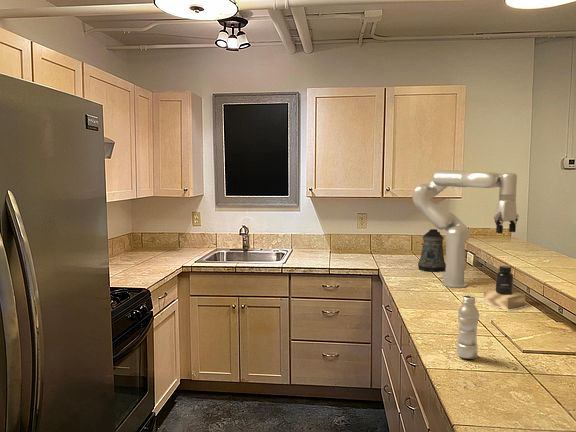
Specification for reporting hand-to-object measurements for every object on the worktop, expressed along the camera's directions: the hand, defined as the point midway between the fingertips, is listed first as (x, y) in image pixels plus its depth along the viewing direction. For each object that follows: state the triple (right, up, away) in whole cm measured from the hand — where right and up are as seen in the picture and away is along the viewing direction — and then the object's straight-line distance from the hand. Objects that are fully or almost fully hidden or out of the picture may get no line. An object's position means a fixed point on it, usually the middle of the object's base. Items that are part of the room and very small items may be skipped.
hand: (505, 232), depth 226 cm
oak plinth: (-11, -31, -22) cm, 40 cm away
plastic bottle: (-50, -38, -78) cm, 101 cm away
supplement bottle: (-11, -27, -22) cm, 36 cm away
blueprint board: (-11, -32, -22) cm, 40 cm away
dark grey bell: (-18, -25, +59) cm, 67 cm away
